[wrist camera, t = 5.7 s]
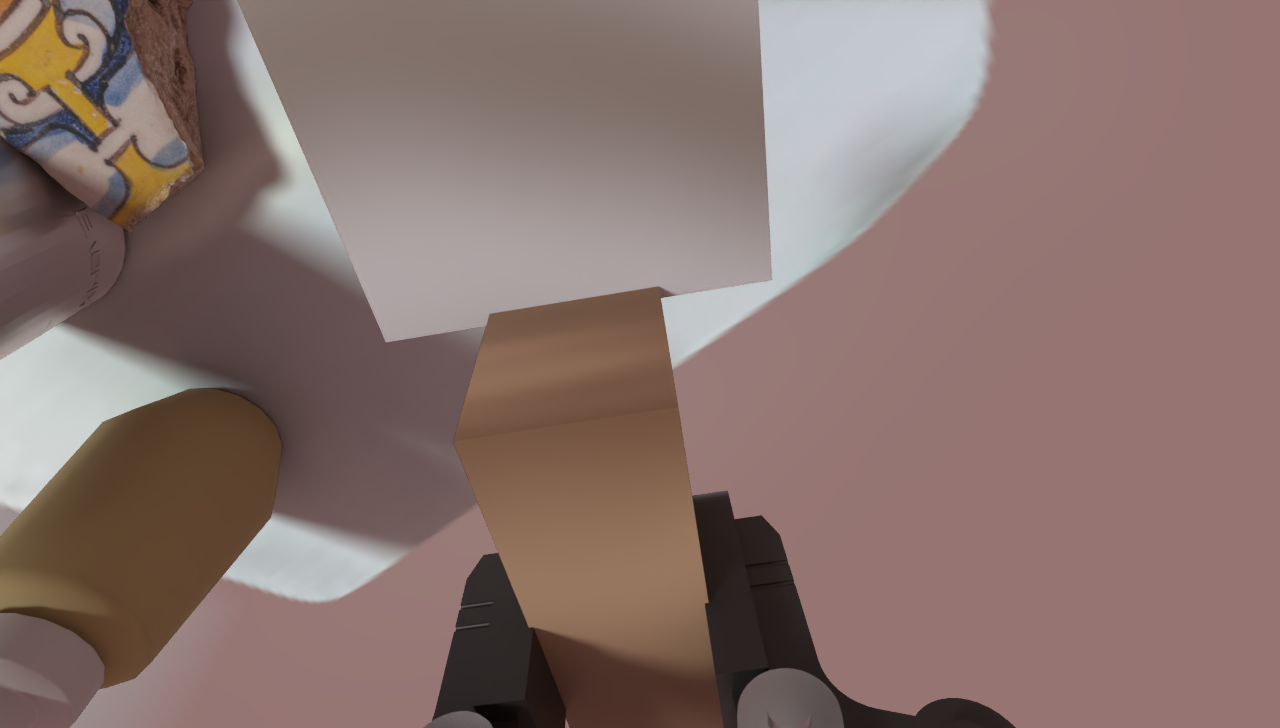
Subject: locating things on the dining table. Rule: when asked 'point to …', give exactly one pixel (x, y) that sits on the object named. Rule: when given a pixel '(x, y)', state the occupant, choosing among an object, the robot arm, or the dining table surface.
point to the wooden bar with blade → (552, 279)
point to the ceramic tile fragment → (102, 99)
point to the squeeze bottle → (127, 547)
